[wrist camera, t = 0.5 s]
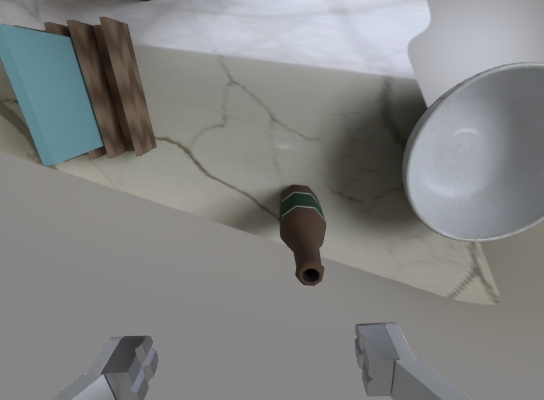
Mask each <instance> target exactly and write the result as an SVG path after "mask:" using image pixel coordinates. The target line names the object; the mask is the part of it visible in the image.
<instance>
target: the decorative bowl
mask: <svg viewBox="0 0 544 400" xmlns="http://www.w3.org/2000/svg"><path fill="white" fill-rule="evenodd" d="M402 177H403V184H404V189H405V193H406V196H407V199H408V202H409V204H410V206H411V208H412V209H413V211H414V213H415V214H416V215H417V217H418V218H419V219H420V220H421V221H422V222H423V223H424V224H425V225H426V226H427V227H428V228H430V229H431V230H433V231H434V232H436V233H438V234H440V235H442V236H444V237H447V238H450V239H454V240H458V241H465V242H486V241H493V240H498V239H502V238H506V237H509V236H512V235H515V234H517V233H520V232H522V231H524V230H526V229H529V228H531V227H532V226H534V225H536V224H538V223H539V222H541V221H542V220H544V63H540V62H520V63H512V64H506V65H502V66H498V67H495V68H492V69H489V70H486V71H484V72H481V73H479V74H476V75H474V76H472V77H470V78H468V79H466V80H464V81H463V82H461V83H459V84H458V85H456V86H454V87H453V88H451V89H450V90H449V91H447V92H446V93H444V94H443V95H442V96H441V97H439V99H437V100H436V101H435V102H434V103H433V104H432V105H431V106H430V107H429V108H428V109H427V110H426V111H425V112H424V114H423V115H422V116H421V118H420V119H419V120H418V122H417V123H416V125H415V127H414V128H413V130H412V132H411V134H410V136H409V139H408V141H407V144H406V147H405V151H404V156H403V163H402Z"/></svg>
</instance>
